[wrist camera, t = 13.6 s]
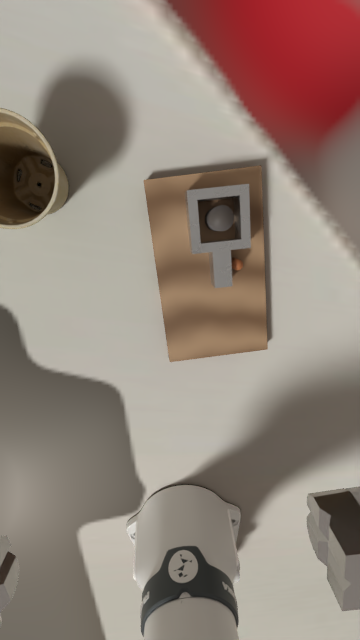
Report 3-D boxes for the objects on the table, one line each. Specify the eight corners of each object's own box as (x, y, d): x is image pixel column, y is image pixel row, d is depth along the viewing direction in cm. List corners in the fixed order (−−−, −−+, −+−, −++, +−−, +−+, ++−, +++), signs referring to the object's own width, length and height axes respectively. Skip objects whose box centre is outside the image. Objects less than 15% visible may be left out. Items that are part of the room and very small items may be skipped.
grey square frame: (184, 193, 33) (186, 190, 30) (241, 187, 33) (249, 183, 30) (193, 285, 36) (195, 290, 33) (245, 279, 36) (251, 284, 33)
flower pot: (79, 137, 32) (50, 106, 24) (88, 228, 35) (64, 228, 27) (-9, 137, 32) (-70, 106, 24) (7, 229, 35) (-43, 229, 26)
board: (263, 345, 41) (278, 362, 35) (169, 357, 40) (170, 376, 35) (257, 168, 34) (274, 156, 29) (144, 182, 34) (140, 173, 28)
